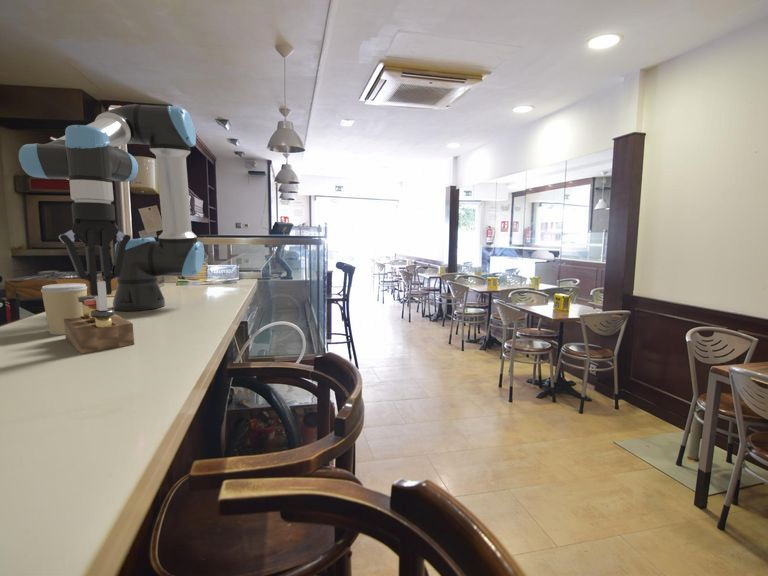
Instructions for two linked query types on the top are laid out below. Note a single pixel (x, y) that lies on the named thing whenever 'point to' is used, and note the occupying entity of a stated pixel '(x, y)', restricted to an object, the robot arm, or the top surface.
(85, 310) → the plunger
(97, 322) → the plunger
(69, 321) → the walnut block
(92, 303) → the plunger red
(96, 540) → the top surface
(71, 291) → the coffee cup
